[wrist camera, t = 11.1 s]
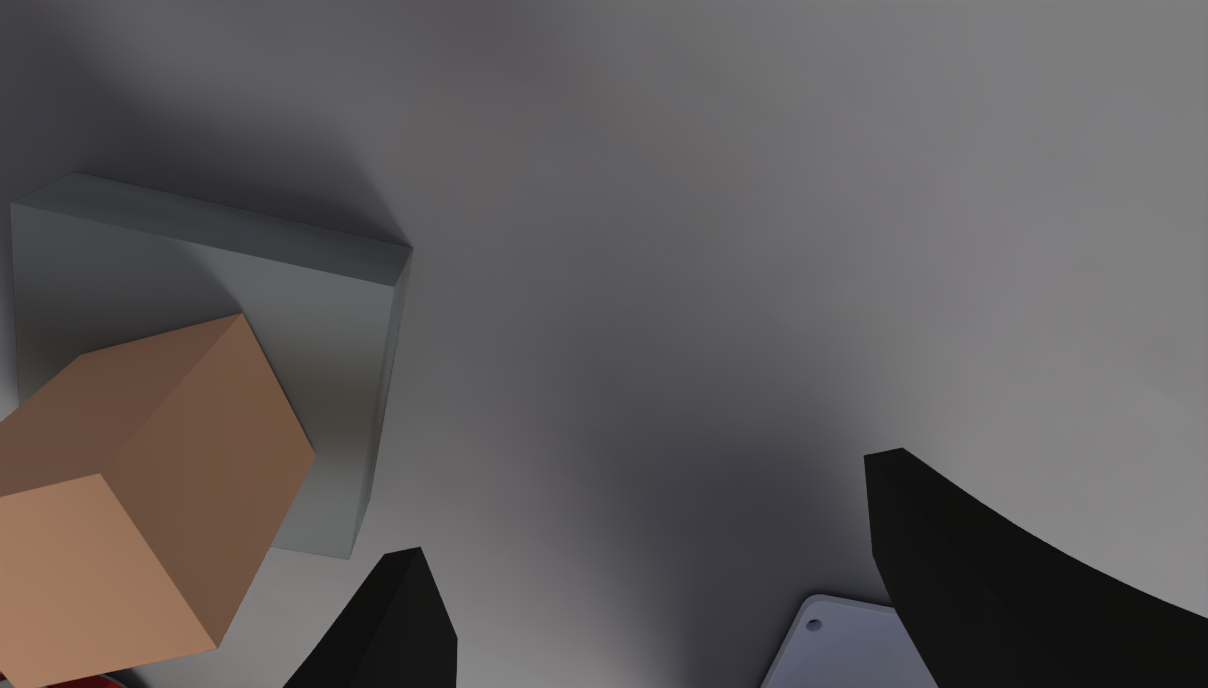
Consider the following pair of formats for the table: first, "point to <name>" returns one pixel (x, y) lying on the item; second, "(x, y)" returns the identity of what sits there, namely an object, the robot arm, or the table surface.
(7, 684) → the soda can
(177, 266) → the slate slab
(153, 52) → the table surface
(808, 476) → the table surface
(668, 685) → the table surface
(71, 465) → the terracotta block
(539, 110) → the table surface
